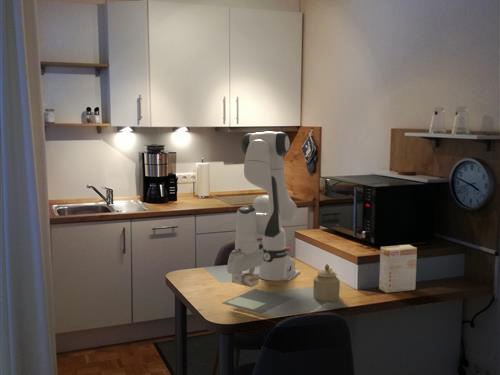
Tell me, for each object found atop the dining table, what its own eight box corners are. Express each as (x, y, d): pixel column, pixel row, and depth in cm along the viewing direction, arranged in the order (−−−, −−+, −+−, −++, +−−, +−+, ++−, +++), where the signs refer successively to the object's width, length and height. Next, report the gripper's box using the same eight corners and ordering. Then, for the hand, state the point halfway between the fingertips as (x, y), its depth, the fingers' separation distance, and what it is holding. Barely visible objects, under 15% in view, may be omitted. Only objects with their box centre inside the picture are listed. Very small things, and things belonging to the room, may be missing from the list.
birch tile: (258, 284, 234) (258, 274, 233) (251, 287, 230) (251, 277, 229) (239, 279, 240) (239, 270, 239) (231, 282, 236) (232, 272, 235)
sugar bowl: (307, 291, 253) (308, 258, 251) (331, 290, 255) (332, 257, 253) (317, 303, 239) (318, 268, 237) (342, 301, 241) (344, 266, 239)
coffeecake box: (406, 285, 264) (408, 244, 261) (415, 290, 257) (417, 247, 254) (378, 288, 259) (379, 246, 256) (386, 293, 252) (388, 250, 250)
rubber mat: (255, 290, 255) (255, 288, 255) (293, 299, 243) (293, 297, 243) (221, 304, 236) (221, 302, 236) (261, 314, 224) (261, 313, 224)
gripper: (236, 252, 222) (235, 287, 224) (266, 243, 239) (265, 276, 241) (223, 250, 226) (223, 284, 228) (254, 241, 243) (253, 273, 244)
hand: (245, 279), depth 234 cm, fingers closed on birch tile, 5 cm apart
